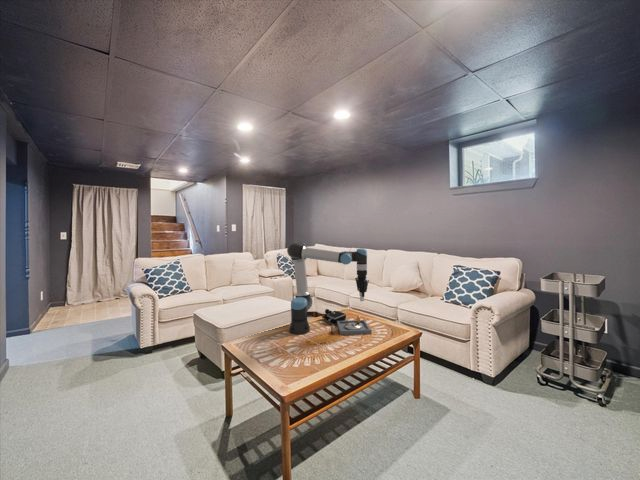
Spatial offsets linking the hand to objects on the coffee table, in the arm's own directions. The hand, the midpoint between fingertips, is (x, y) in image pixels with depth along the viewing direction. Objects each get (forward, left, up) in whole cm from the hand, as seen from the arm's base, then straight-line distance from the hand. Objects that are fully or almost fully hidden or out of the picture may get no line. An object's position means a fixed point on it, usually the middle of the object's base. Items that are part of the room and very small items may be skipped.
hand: (362, 300), depth 218 cm
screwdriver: (-22, -3, -21) cm, 30 cm away
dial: (-7, -1, -19) cm, 20 cm away
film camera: (-20, +18, -21) cm, 34 cm away
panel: (-7, -2, -20) cm, 22 cm away
